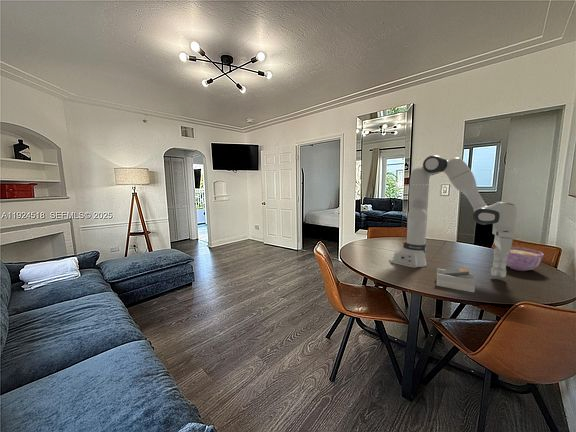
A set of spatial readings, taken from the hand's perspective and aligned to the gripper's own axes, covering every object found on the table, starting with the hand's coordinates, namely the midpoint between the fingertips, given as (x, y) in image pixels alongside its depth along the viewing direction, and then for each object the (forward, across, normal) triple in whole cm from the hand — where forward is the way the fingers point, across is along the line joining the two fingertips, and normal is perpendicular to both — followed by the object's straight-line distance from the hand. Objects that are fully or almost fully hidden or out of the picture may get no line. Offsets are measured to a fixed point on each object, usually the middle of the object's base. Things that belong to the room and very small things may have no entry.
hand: (500, 256), depth 131 cm
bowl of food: (+14, -28, +14) cm, 34 cm away
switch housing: (+14, +21, -21) cm, 33 cm away
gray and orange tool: (+8, +21, -21) cm, 31 cm away
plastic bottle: (+12, 0, 0) cm, 12 cm away
